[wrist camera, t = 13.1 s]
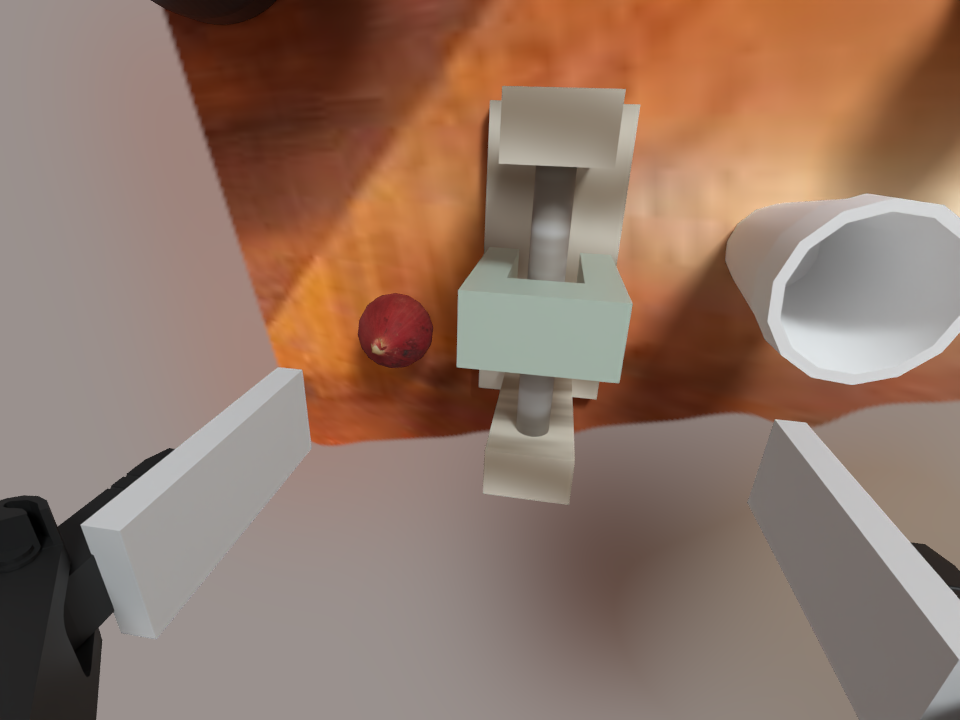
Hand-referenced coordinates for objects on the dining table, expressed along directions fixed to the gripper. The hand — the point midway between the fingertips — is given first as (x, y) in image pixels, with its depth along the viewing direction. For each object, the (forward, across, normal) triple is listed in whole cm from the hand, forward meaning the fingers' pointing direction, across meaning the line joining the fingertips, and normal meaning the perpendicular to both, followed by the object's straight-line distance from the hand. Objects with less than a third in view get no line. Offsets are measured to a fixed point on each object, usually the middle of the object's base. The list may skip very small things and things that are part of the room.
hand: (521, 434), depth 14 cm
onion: (+27, -11, -7) cm, 30 cm away
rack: (+27, 0, -1) cm, 27 cm away
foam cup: (+27, +16, +1) cm, 32 cm away
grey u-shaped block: (+21, 0, -1) cm, 21 cm away
